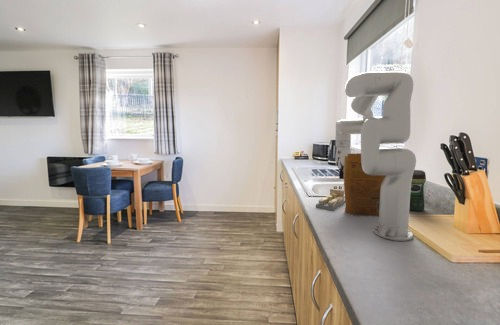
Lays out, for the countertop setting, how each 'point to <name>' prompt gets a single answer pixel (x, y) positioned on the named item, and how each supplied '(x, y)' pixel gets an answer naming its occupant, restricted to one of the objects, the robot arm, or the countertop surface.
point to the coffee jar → (417, 191)
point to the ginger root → (334, 200)
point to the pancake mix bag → (360, 188)
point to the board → (331, 206)
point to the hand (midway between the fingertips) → (342, 178)
